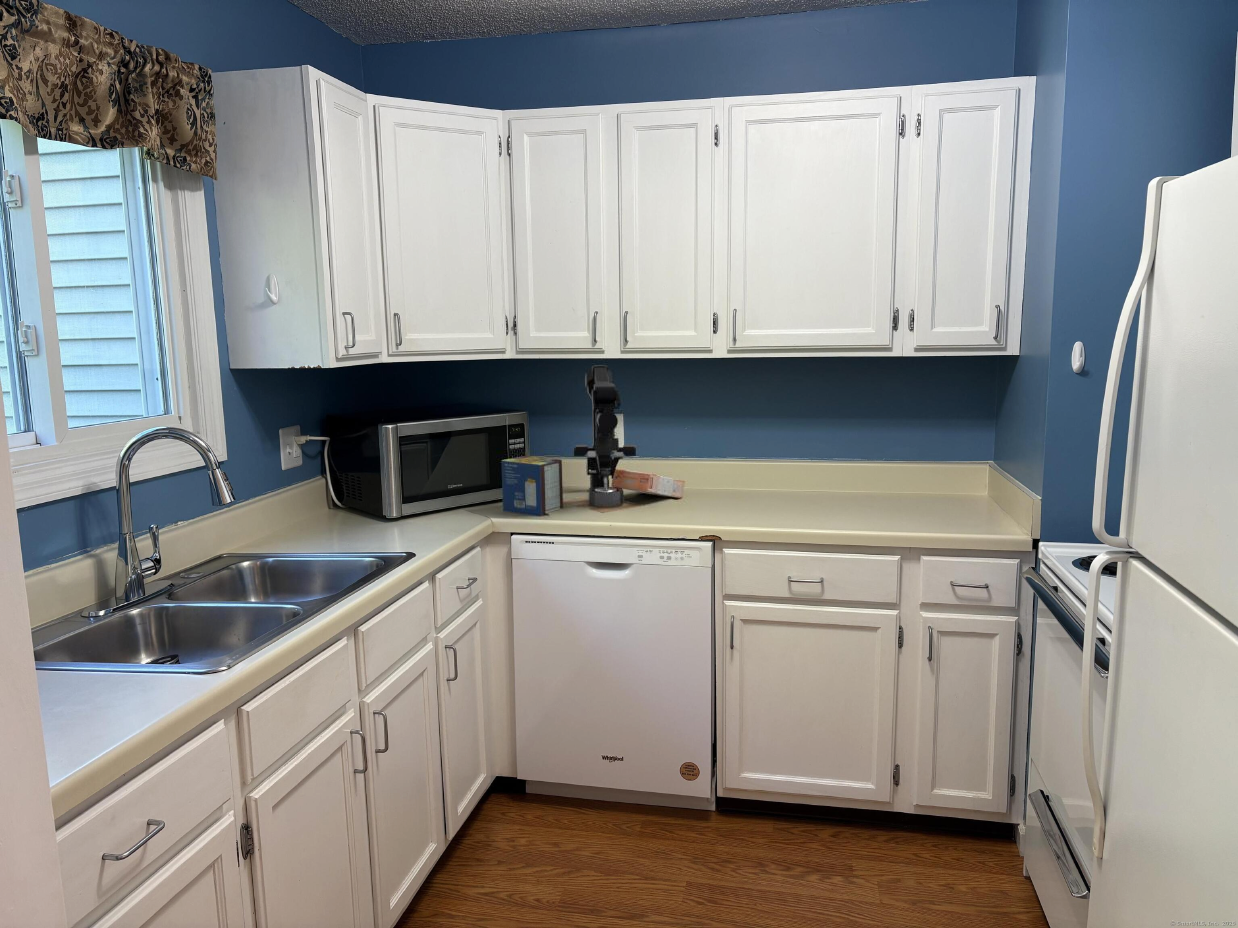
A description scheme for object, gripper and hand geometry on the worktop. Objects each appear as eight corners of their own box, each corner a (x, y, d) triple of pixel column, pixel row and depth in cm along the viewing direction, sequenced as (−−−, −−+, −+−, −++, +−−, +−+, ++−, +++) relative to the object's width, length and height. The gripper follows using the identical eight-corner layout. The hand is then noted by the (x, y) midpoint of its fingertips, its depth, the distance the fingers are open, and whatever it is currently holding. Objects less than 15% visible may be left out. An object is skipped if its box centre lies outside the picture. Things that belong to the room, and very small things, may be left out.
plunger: (590, 491, 262) (590, 469, 261) (608, 488, 266) (607, 466, 265) (603, 494, 257) (603, 471, 256) (621, 491, 261) (620, 469, 260)
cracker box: (685, 480, 276) (650, 473, 259) (682, 498, 275) (647, 492, 258) (649, 475, 284) (613, 468, 267) (646, 493, 283) (610, 487, 266)
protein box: (524, 505, 267) (523, 455, 264) (563, 510, 258) (562, 459, 256) (501, 511, 258) (500, 460, 256) (541, 516, 250) (540, 464, 247)
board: (560, 503, 268) (560, 501, 268) (601, 497, 277) (601, 495, 277) (602, 515, 250) (602, 512, 250) (644, 508, 260) (644, 505, 260)
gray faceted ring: (577, 502, 265) (577, 488, 265) (604, 498, 271) (604, 484, 271) (602, 509, 255) (602, 494, 254) (629, 504, 261) (629, 490, 261)
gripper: (571, 430, 251) (572, 483, 253) (635, 430, 250) (635, 483, 253) (575, 426, 262) (576, 477, 264) (636, 426, 261) (636, 476, 264)
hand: (605, 478), depth 261 cm, fingers closed on plunger, 4 cm apart
